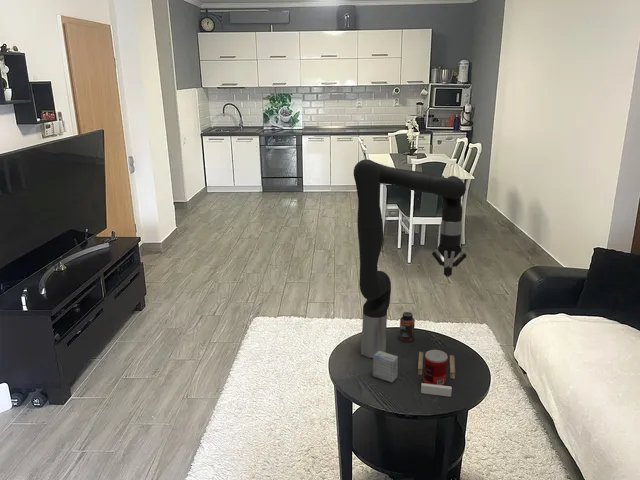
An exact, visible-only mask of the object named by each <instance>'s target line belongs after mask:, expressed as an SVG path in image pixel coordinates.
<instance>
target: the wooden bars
mask: <svg viewBox="0 0 640 480" xmlns="http://www.w3.org/2000/svg"><path fill="white" fill-rule="evenodd" d="M423 363H424V352H423V351H422V352H421V351H419V352H418V364H417V365H418V366H417V375H419V376H422V375H423V367H424V365H423ZM449 378H450V379H452V380H455V379H456V365H455V355H453V354H450V355H449Z"/></svg>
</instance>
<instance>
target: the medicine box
mask: <svg viewBox="0 0 640 480" xmlns="http://www.w3.org/2000/svg"><path fill="white" fill-rule="evenodd" d="M398 362H399V357H398V355H394V354H391V353H388V352H386V351H385V352H382V351H378V352H377V353H376V354H375V355H374V356H373V358H372V377H375V378H377V379H380V380H383V381H386V382H390V383H393V382H394V381H395V380H396V379H398V369H399V367H398V366H399V363H398Z"/></svg>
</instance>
